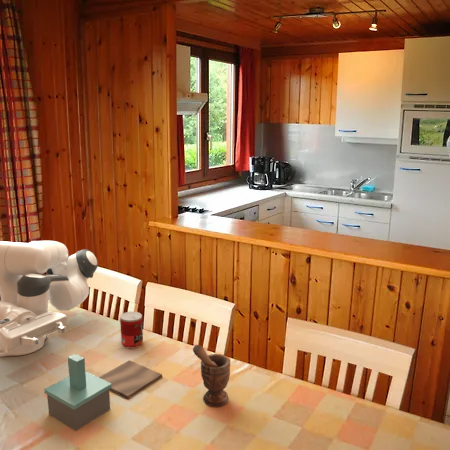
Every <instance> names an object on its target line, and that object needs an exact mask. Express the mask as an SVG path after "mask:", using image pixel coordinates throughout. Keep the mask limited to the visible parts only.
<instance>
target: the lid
mask: <svg viewBox="0 0 450 450" xmlns="http://www.w3.org/2000/svg"><path fill="white" fill-rule="evenodd" d="M67 365H68V367H67V368H68V375H67V377H64V378H63V379H61V380H59V381H58V382H55V383H53V384H52V385H49V386H48V387H46V388H44V389H43V391H44V394H45V395H49V396H51V397H52V398H54V399H56V400H58V401H60V402H61V403H63V404H65V405H67V406H68V407H70V408H72V409H74V410H75V409H76V408H78V407H80V406H81V405H83V404H85V403H86V402H88V401H90V400H91V399H93V398H95V397H96V396H98V395H100V394H101V393H103V392H105V391H106V390H108V389H110V388H111V387H112V385H111V383H109V382H107V381H105V380H103V379H101V378H99V377H100V376H99V377H98V376H96V375H94V374H92V373H91V372H88V371H86V363H85V357H83V356H82V355H79V354H77V353H74V354H72V355H69V356H67Z"/></svg>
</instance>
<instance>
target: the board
mask: <svg viewBox="0 0 450 450" xmlns="http://www.w3.org/2000/svg"><path fill="white" fill-rule="evenodd" d="M99 378H101V379H103V380H105V381H107V382H109V383H111V385H112V387H111V388H110V389H109V391H111V392H113V393H114V394H117V395H119V396H120V397H122V398H124V399H127V400H129V399H130V398H133V396H135V395H137V394H139V393H140V392H141V391H143V390H144V389H146V388H148V387H149V386H151V385H153V384H154V383H155V382H156V381H158V380H159V379H162V378H163V374H162V373H160V372H157V371H155V370H153V369H150V368H148V367H147V366H144V365H141V364H139V363H137V362H134V361H132V360H127V361H125V362H124V363H122V364H120V365H118V366H117V367H115V368H113V369H111V370H109V371H107V372H105V373H104V374H102V375H100V376H99Z"/></svg>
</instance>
